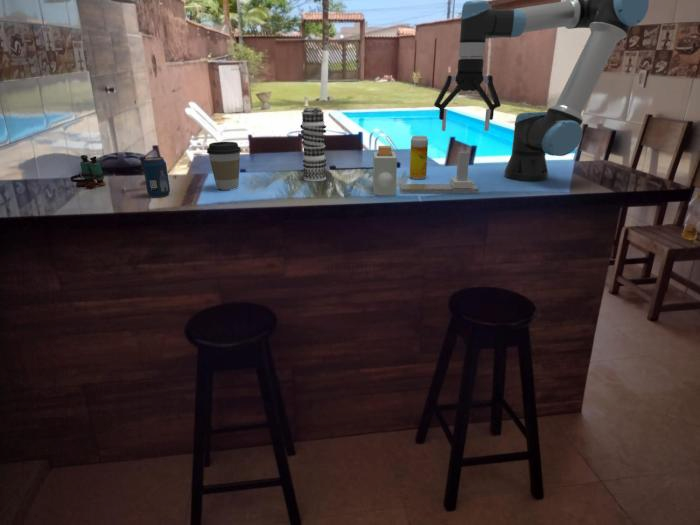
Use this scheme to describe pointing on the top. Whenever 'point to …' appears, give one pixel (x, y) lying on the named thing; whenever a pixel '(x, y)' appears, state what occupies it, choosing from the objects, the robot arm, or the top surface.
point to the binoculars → (89, 173)
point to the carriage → (462, 172)
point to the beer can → (418, 157)
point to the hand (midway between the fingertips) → (464, 130)
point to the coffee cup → (225, 164)
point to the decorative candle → (313, 144)
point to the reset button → (384, 150)
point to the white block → (384, 174)
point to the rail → (435, 188)
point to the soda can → (156, 177)
